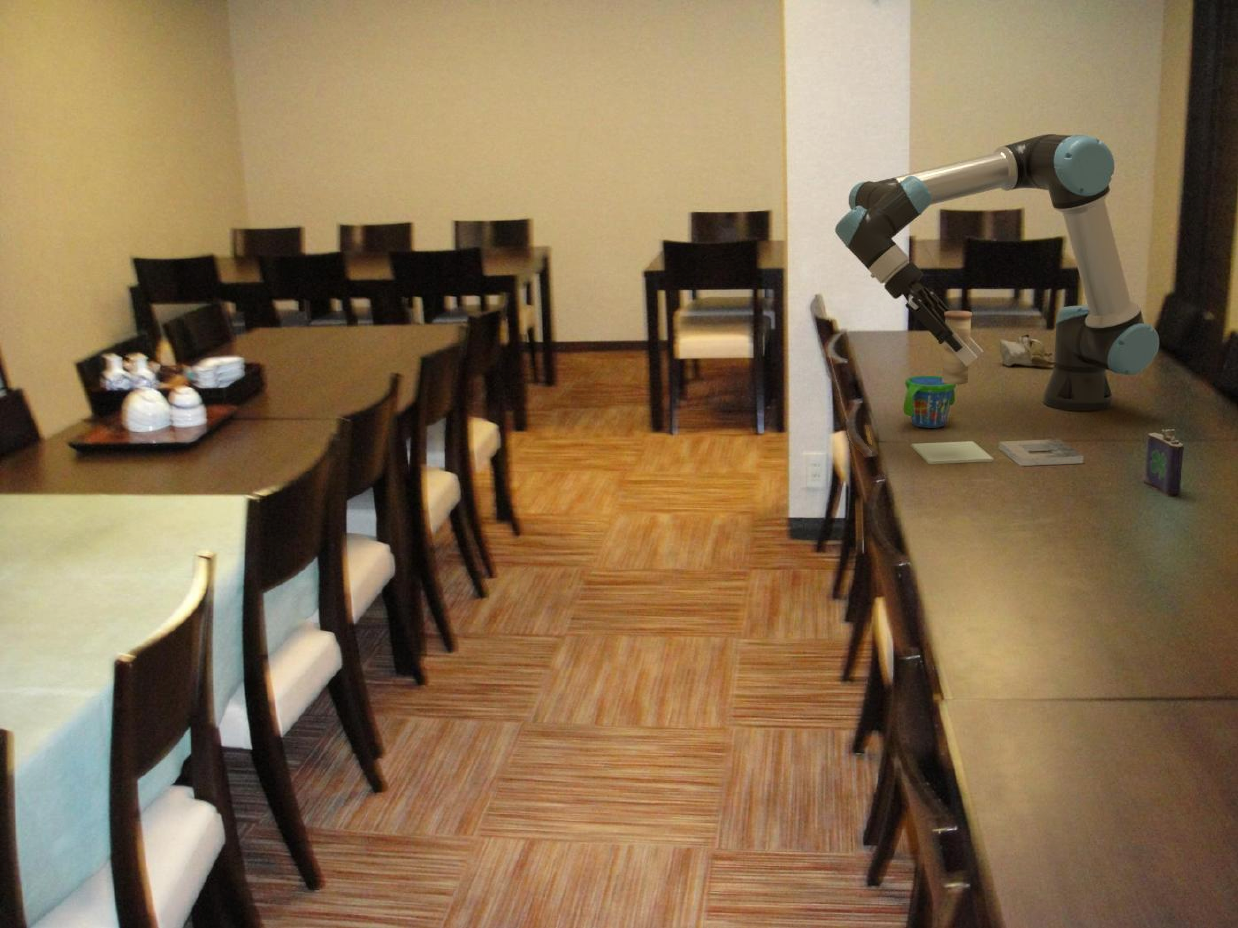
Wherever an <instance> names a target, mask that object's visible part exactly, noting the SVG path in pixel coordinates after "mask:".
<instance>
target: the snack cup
mask: <svg viewBox="0 0 1238 928" xmlns="http://www.w3.org/2000/svg"><path fill="white" fill-rule="evenodd" d="M904 382H905V383H904V384H905V386H906V389H907V392H906V394H905V397H904V403H903V407H902V408H903V410H902V411H903V414H904V415H905V416H907V417H910V422H911V424H912V425H914V426H916V427H918V428H924V429H925V428H926V429H937V428H941V427H943V426H946V423H947V420H948V416H949V411H950V406H953V405H954V404H955V402H956V394H955V388H956V386H957V385H954V384H946V383H943V382H942V376H937V375H918V376H917V375H916V376H911V377H908V378H907V379H906V380H905V381H904Z"/></svg>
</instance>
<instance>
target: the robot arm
mask: <svg viewBox="0 0 1238 928" xmlns="http://www.w3.org/2000/svg"><path fill="white" fill-rule="evenodd" d="M1114 173H1115V160H1114V155H1113V153H1112V151H1111V150H1110V147H1108V145H1107V144H1106V143H1105V142H1103V141H1102V140H1100V139H1098V138H1096V137H1092V136H1089V135H1085V134H1074V135H1072V134H1071V135H1070V134H1055V133H1051V134H1050V133H1048V134H1047V133H1046V134H1041V135H1037V136H1034V137H1029V138H1026V139H1023V140H1020V141H1016V142H1013V143H1010V144H1007V145H1003V146H998V147H997V148H996V149H995V150H994V151H993V153H988V154H985V155H981V156H976V157H972V158H969V159H964V160H961V161H956V162H952V163H948V164H944V165H940V166H935V167H932V168H927V169H923V170H919V171H915V172H911V173H908V174H903V175H898V176H895V177H890V178H886V179H882V180H879V181H870V180H866V181H862V182H859V183H857V184H855V185H854V186H853V187H852V189H851V190H850V192H849V196H848V205H849V208H850V211H848V212H847V213H846V214H845V215H844V216H843V217H842V218H841V219H839V221H838V222H837V224H836V225H835V229H834V231H835V234H836V235H837V236H838V239H840V240H841V242H842V243H843V244H844V245H845V248H847V249H848V250H849V251H850V252H851V253H852V255H854V256H855V257H856V258H857V259H858V260H859V261H860V262H861V264H862V265H863V266H864V267H865V268H866V269H867V270H868V271H869V272H870V277H871V278H872V279H876V281H878V282H879V284H884V289H885V290H886V291H887V293H888V294H889V295H890V296H891V297H892V298H893V299H895V300H896V299H899V298H900V297H902V296H903V297H904V298H905V300H906V302H907V303H906V304H905V308H907V309H908V310H909V311H910V312H911V313H912V314H913V315H914V316H915V317H916V318H917V320H919V322H921V324H923V326H924V327H925V328H926V329H927V330H928V331H929V333H930V334H931V335H932V336H934V338H935V339H936V340H937V343H938V344H939V345H942V344H944V341H945V343H946V345H947V346H948V347H949V348H950V349H951V350H952V351H953V352H954V353H955V354H956V356H957V357H958V358H959V359H960V360H961V361H962V362H963V363H964V364H965V365H966V367H967V366H968V365H970V364H971V363H972V362H974V361H975V360H976V359H977V358H978V357H979V356H980V355H981V354H982V353H984V350H983V349H982V348H981V347H980V346H979V345H978V344H977V342H975V340H974V339H973V338H972V337H971V336H970V348H969V347H968V346H967V345H966V344H965V343H964V342H963V340H962V339H961V338H960V337H959V336H958V335H957V334H956V333H954V334H953V332H952V331H951V330H950V328H949V327H948V326H947V325H946V323H945V316H944V313H945V312H947V311H951V310H950V309H949V307H948V306H947V305H946V304H945V303H944V302H943V301H942V299H940V298H939V296H938V295H937V294H936V293H935V291H934V290H933V288H931V287H928V288H927V287H926V286H924V285H922V284H921V283H919V280H921V279H922V277H923V276H924V273H923V272H922V270H921V269H920V268H919V267H918V266H917V265H916V263H914V262H913V261H909V260H910V257H909V256H908V255H907V254H906V253H905V252H904V250H902V248H901V247H900V246H899V245H898V244H897V243H896V242H895V241H894V240H893V238H895V236H897V234H899V233H900V232H901V231H902V230H903V229H905V228H906V227H907V226H908V225H910V224H911V223H912V222H913V221H914V220H915V219H917V217H919V216H922V214H923V213H924V211H926V209H928V208H929V207H930V206H932V205H936V204H940V203H943V202H944V203H945V202H949V201H953V200H956V199H961V198H965V197H968V196H973V195H977V194H980V193H984V192H989V191H993V190H996V189H1001V190H1002V191H1006V192H1009V191H1013V190H1016V189H1017V190H1018V189H1035V190H1037V189H1038V190H1044V191H1048V193H1049V196H1050V201H1051V204H1052V207H1053V209H1054V210H1056V211H1057V212H1060V213H1062V215H1063V219H1064V222H1065V226H1066V230H1067V233H1068V237H1069V240H1070V241H1069V242H1070V245H1071V248H1072V251H1073V255H1074V259H1075V263H1076V266H1077V270H1078V273H1079V278H1080V281H1081V285H1082V289H1083V293H1084V297H1085V300H1086V303H1087V304H1086V305H1084V304H1083V305H1069V306H1064V307H1061V308H1060V309H1059V310H1058V312H1057V317H1056V322H1055V326H1056V328H1055V341H1054V356H1053V358H1054V359H1053V360H1054V364H1053V369H1052V372H1051V375H1050V377H1049V380H1048V382H1047V384H1046V387H1045V388H1044V392H1043V399H1042V401H1043V404H1045V405H1046V406H1048V407H1051V408H1055V409H1057V410H1058V409H1059V410H1065V411H1066V410H1067V411H1074V412H1075V411H1077V412H1078V411H1079V412H1093V411H1095V412H1096V411H1101V410H1106V409H1109V408H1111V407H1112V406H1113V393H1112V390H1111V386H1110V382H1109V377H1108V373H1107V371H1109V372H1112V373H1114V374H1118V375H1119V374H1120V375H1121V374H1122V375H1126V376H1132V375H1137V374H1139V373H1141V372H1143V371H1144V370H1146V369H1147V368H1148V367H1149V366H1150V365H1151V364H1152V363H1153V362H1154V358H1155V357H1156V356H1157V355H1158V352H1159V348H1160V337H1159V334H1158V332H1157V330H1156V329H1155V328H1154V327H1153V326H1152V325H1150V324H1148V323H1145V320H1144V318H1143V314H1142V308H1141V307H1140V305H1139V304H1137V303H1136V302H1135V301H1134V302H1133V301H1132V300H1131V297H1130V293H1129V290H1128V285H1127V281H1126V278H1125V274H1124V270H1123V267H1122V263H1121V259H1120V255H1119V250H1118V248H1117V247H1118V246H1117V243H1116V239H1115V236H1114V232H1113V228H1112V227H1113V226H1112V224H1111V219H1110V216H1109V212H1108V209H1107V205H1106V199H1107V197H1108V195H1109V194H1110V192H1111V190H1110V184H1111V181H1112V180H1113V178H1112V176H1113V175H1114ZM952 334H953V335H952Z"/></svg>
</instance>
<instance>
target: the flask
mask: <svg viewBox="0 0 1238 928" xmlns="http://www.w3.org/2000/svg"><path fill="white" fill-rule="evenodd" d="M1175 431H1176V430H1175V429H1174V428H1172V429H1167V428H1166V429H1161V433H1158V432H1151V433H1148V434H1147V444H1146V453H1145V454H1146V455H1145V464H1144V472H1143V483H1144V484H1145V485H1146V486H1149V487H1151V488H1152V489H1154V490H1156V491H1158V492H1160V493H1162V494H1163V495H1165V496H1166V497H1172V498H1177V497H1180V496H1181V483H1182V469H1183V460H1184V459H1183V457H1184V450H1185V449H1184V447H1185V446H1184V444H1183V443H1181V442H1180V440H1178V439H1176V437H1175V435H1174V434H1172V433H1173V432H1175Z"/></svg>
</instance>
